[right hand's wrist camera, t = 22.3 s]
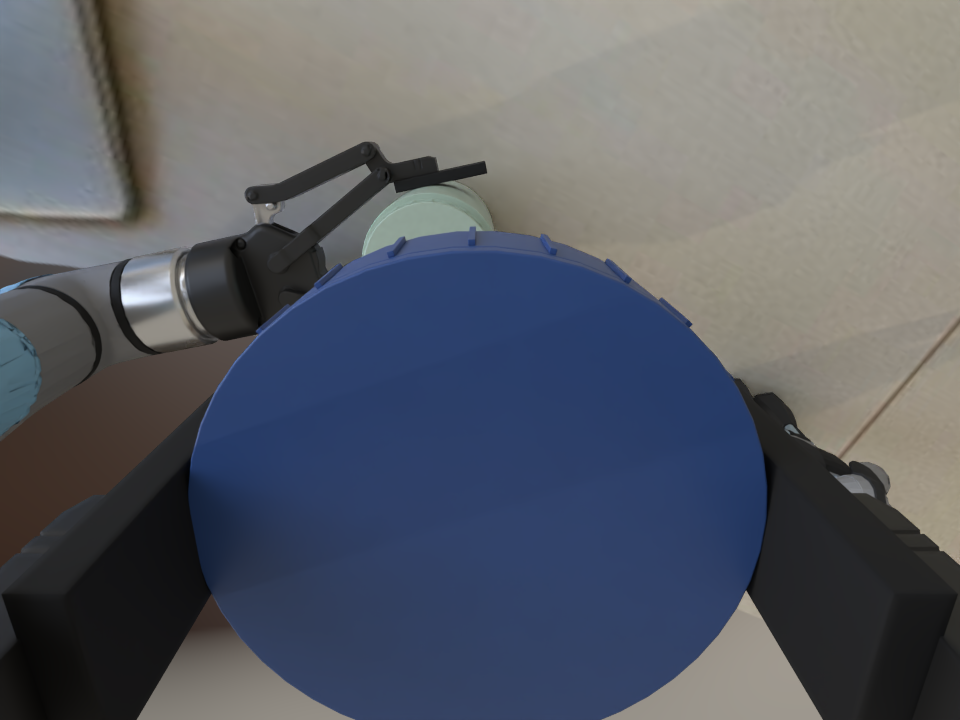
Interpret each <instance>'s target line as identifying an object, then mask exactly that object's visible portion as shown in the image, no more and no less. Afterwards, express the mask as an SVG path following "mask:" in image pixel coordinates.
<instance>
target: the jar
mask: <svg viewBox="0 0 960 720" xmlns="http://www.w3.org/2000/svg"><path fill="white" fill-rule="evenodd" d="M472 226H475V227H476V231H495V230H494V226H493V222H492V219H491V215H490V213H489V210H488V208H487V207H486V205H485V203H484V202H483V201H482V199H481V198H480V197H479V196H478V195H477V194H476V193H475V192H474V191H473V190H471V189H470V188H468V187H467V186H465V185H463V184H460V183H458V182H455V181H449V182H444V183H440V184H435V185H431V186H426V187H421V188H417V189H412V190H409V191H408V192H406V193H405V194H404V195H402V196H401V197H400V198H399V199H397V200H396V201H395V202H393V203H392V204H391V205H389V206H388V207H387V208H386V209H385V210H383V211H382V212H381V213H380V215H379V216H378V217H377V218H376V219H375V221H374V222H373V224H372V225H371V227H370V229H369V231H368V233H367V235H366V238H365V241H364V245H363V251H362V257H363V256H365V255H367V254H370V253H372V252H374V251H376V250H379V249H381V248H383V247H386V246H389V245H392V244H394V243H395V242H396V241H397V240H398V238H400V237H403V236H405V239H406V241H407V240H410V239H414V238H417V237H421V236H428V235H435V234H442V233H449V232H456V231H469V229H470V227H472Z"/></svg>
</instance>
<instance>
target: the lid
mask: <svg viewBox="0 0 960 720" xmlns="http://www.w3.org/2000/svg"><path fill="white" fill-rule="evenodd" d="M691 325H692V323H691V322H690V321H689V320H688V319H686V318H685V317H684V316H683V315H682V314H681V313H679V312H678V311H677V310H676V309H675V308H674V307H672V306H671V305H670V304H669V303H668V302H667V301H665V300H664V299H663V298H661V299H659V300H657V299H656V298H655V297H654V296H653V295H651V294H650V293H649V292H648V291H646V290H645V289H644V288H643V287H641V286H640V285H639V284H638V283H636V282H635V281H634V280H633V279H632V278H631V277H629V276H628V275H627V274H626V273H625V272H624V271H623V270H622V269H621V268H619V267H618V266H617V265H616V264H615V263H614V262H613V261H611V260H610V259H608V258H607V260H606V261H605V262H603V261H602V260H600V259H598V258H596V257H594V256H591V255H589V254H586V253H584V252H582V251H579V250H577V249H574V248H572V247H569V246H567V245H564V244H561V243H557V242H553V241H551V240H550V238H549V237H548V236H547V235H545V234H541V237H540V238H538V237H534V236H530V235H522V234H514V233H506V232H498V231H476V227H475V226H472V227H470V229H469V231H456V232H449V233H442V234H435V235H428V236H421V237H417V238H414V239H410V240H407V241H406V239H405V236H403V237H400V238H398V240H397V241H396V242H395V243H394V244H392V245H389V246H386V247H383V248H381V249H379V250H376V251H374V252H372V253H370V254H367V255H365V256H363V257H360V258H358V259H356V260H354V261H352V262H350V263H349V264H347V265H345V266H344V267H343V266H342V265H341V263H339V264H337V265H336V266H335V267H333V268H332V269H331V270H330V271H329V272H328V273H326V274H325V275H324V276H323V277H322V278H321V279H319V280H318V281H317V282H316V283H315V284H314V287H313V288H312V289H311V290H310V291H308V292H307V293H306V294H305V295H304V296H302V297H301V298H300V299H299V300H298V301H296V302H295V303H294V304H293V305H292V306H290V305H289V304H287V305H286V306H285V307H283V308H282V309H281V310H280V311H279V312H277V313H276V314H275V315H274V316H273V317H271V318H270V319H269V320H268V321H267V322H266V323H264V324H263V325H262V326H261V327H260V328H259V329H258V330H257V331H256V332H257V333H258V334H259V335H258V336H257V337H256V338H255V339H254V341H253V342H252V343H251V344H250V345H249V346H248V347H247V348H246V349H245V351H244V352H243V353H242V354H241V355H240V356H239V357H238V358H237V360H236V361H235V362H234V363H233V365H232V366H231V368H230V370H229V371H228V373H227V374H226V376H225V377H224V379H223V380H222V382H221V383H220V384H219V385H218V387H217V389H216V391H215V393H214V395H213V397H212V399H211V402H210V404H209V406H208V408H207V411H206V413H205V415H204V417H203V420H202V422H201V424H200V427H199V431H198V435H197V439H196V442H195V446H194V450H193V453H192V457H191V466H190V476H189V486H188V501H189V507H190V514H191V519H192V524H193V529H194V534H195V539H196V544H197V550H198V555H199V560H200V564H201V569H202V573H203V575H204V578H205V581H206V583H207V586H208V588H209V589H210V591H211V593H212V595H213V597H214V599H215V601H216V602H217V604H218V606H219V608H220V610H221V612H222V613H223V615H224V616H225V618H226V619H227V620H228V622H229V623H230V624H231V626H232V627H233V629H234V630H235V631H236V633H237V634H238V635H239V637H240V638H241V639H242V640H243V641H244V643H245V644H246V645H247V646H248V647H249V648H250V649H251V650H252V651H253V652H254V653H255V654H256V655H257V656H258V658H259V659H260V660H261V661H262V662H264V663H265V664H266V665H267V666H268V667H269V668H271V669H272V670H273V671H274V672H275V673H277V674H278V675H279V676H280V677H281V678H282V679H284V680H285V681H286V682H288V683H289V684H290V685H292V686H294V687H295V688H297V689H298V690H300V691H301V692H302V693H304V694H305V695H307V696H308V697H310V698H311V699H313V700H315V701H317V702H319V703H321V704H323V705H325V706H327V707H328V708H330V709H332V710H334V711H336V712H338V713H340V714H342V715H345V716H347V717H350V718H352V719H355V720H602V719H604V718H606V717H609V716H611V715H614V714H616V713H618V712H621V711H622V710H624V709H626V708H628V707H630V706H632V705H633V704H635V703H637V702H639V701H641V700H643V699H645V698H646V697H648V696H650V695H651V694H653V693H654V692H655V691H657V690H658V689H660V688H661V687H663V686H664V685H666V684H667V683H668V682H670V681H671V680H673V679H674V678H675V677H676V676H678V675H679V674H680V673H681V672H682V671H683V670H684V669H686V668H687V667H688V666H689V665H690V664H691V663H692V662H694V661H695V660H696V659H697V658H698V657H699V656H700V655H701V654H702V653H703V651H704V650H705V649H706V648H707V647H708V646H709V645H710V644H711V642H712V641H713V640H714V639H715V638H716V637H717V636H718V635H719V633H720V632H721V630H722V629H723V627H724V626H725V625H726V623H727V622H728V620H729V619H730V617H731V616H732V614H733V613H734V612H735V610H736V609H737V607H738V605H739V603H740V601H741V599H742V597H743V595H744V593H745V591H746V589H747V587H748V585H749V583H750V581H751V578H752V575H753V572H754V569H755V567H756V564H757V561H758V558H759V555H760V552H761V547H762V542H763V536H764V531H765V525H766V520H767V479H766V471H765V463H764V456H763V451H762V447H761V444H760V441H759V437H758V434H757V430H756V427H755V424H754V420H753V418H752V416H751V414H750V412H749V410H748V408H747V406H746V403H745V401H744V399H743V397H742V395H741V393H740V391H739V389H738V387H737V386H736V384H735V383H734V378H733V377H732V375H730V374H729V373H728V372H727V371H726V370H725V368H724V367H723V365H722V364H721V362H720V361H719V359H718V358H717V357H716V356H715V354H714V353H713V352H712V351H711V350H710V349H709V348H708V347H707V346H706V345H705V344H704V343H703V342H702V341H701V340H700V338H699V337H698V336H697V335H696V334H695V333H694V332H693V331H692V330H691V329H690V328H689V327H690V326H691Z"/></svg>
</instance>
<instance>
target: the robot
mask: <svg viewBox="0 0 960 720" xmlns="http://www.w3.org/2000/svg"><path fill="white" fill-rule="evenodd" d="M734 383H736V384H737V385H738V386H739V387H740V388H741V389H742V390H743V391H744V392H745V393H746V394H747V395H748V396H749V397H750V398H752V396H751V394H750V392H749V390H748V388H747V387H746V385H744V383H743V382H742V381H741V380H740V379H734ZM752 399H753V398H752ZM753 400H754V401H755V402H756V403H757V404H758V405H759V406H760V407H761V408H762V409H763V410H764V411H765V412H766V413H767V414H768V415H770V416H771V417H772V418H773V419H774V420H775V421H776V422H777V423H778V424H779V425H780V426H781V427H782V428H783V429H784V430H785V431H786V432H787V433H789V434H790V435H791V436H792V437H793V438H794V439H795V440H796V441H797V442H798V443H799V444H800V445H801V446H802V447H803V448H804V449H805V450H807V451H808V452H809V453H810V454H811V455H812V456H813V457H814V458H815V459H816V460H817V461H818V462H819V463H820V464H821V465H822V466H823V467H825V468H826V469H827V470H828V471H829V472H830V473H831V474H832V475H833V476H834V477H835V478H836V479H837V480H838V481H839V482H840V483H841V484H842V485H844V486H845V487H846V488H847V489H848V490H849V491H850V492H851V493H867V494H869V495H871V496H872V497H874V498H876V499H878V500H880V501H882V502H883V503H885V504H887V505H889V506H891V505H890V504H889V502H888V498H887V496H886V494H887V493H888V491H889V488H890V480H889V476H888V475H887V474H886V472H885V471H884V470H883V469H882V468H881V467H879V466H877V465H875V464H872V463H870V462H856V461H851V462H850V463H849V466H848V465H847V464H846V463H844V462H843V461H842V460H840V459H839V458H838V457H836V456H835V455H833V454H831V453H828V452H826V451H824V450H822V449H819V448H817V447H816V446H815V445H814V444H813V442H811V441H810V440H809V439H808V438H807V437H805V435H804V434H803V433H802V432H801V431H800V430H799V429H798V428H797V424H796V420H795V418H794V415H793V413H792V411H791V410H790V409H789V408H788V407H787V406H786V405H785V404H784V402H783V401H782V400H780V399H779V398H778V397H777V396H776V395H775V394H774V393H773V392H772V393H766V394H761V395H756V397H755V398H754V399H753Z"/></svg>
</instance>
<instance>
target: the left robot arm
mask: <svg viewBox="0 0 960 720" xmlns="http://www.w3.org/2000/svg"><path fill="white" fill-rule="evenodd" d="M364 164H366V165H367V166H368V168H369V169H370V171H371V172H372V173H371V174H370V175H369V176H367V177H366V178H365V179H364V180H363V181H362V182H360V183H359V184H358V185H357V186H356V187H355V188H353V189H352V190H351V191H350V192H349V193H347V194H346V195H345V196H344V197H343V198H342V199H340V200H339V201H338V202H337V203H336V204H335V205H333V206H332V207H331V208H330V209H329V210H327V211H326V212H325V213H324V214H323V215H322V216H320V217H319V218H318V219H317V220H316V221H314V222H313V223H312V224H311V225H309V226H308V227H307V228H306V229H304V230H303V231H302V232H301V233H297V232H295V231H293V230H290V229H288V228H286V227H283V226H281V225H279V224H277V223H274V222H273V218H274V216H275V214H277V213H279V212H281V211H283V209H284V208H285V200H288V199H291V198H294V197H297V196H299V195H301V194H303V193H305V192H308V191H310V190H312V189H314V188H316V187H318V186H320V185H322V184H324V183H326V182H328V181H330V180H332V179H335V178H337V177H339V176H341V175H343V174H345V173H347V172H349V171H351V170H353V169H355V168H357V167H359V166H362V165H364ZM486 173H487V169H486V164H485V161H482V162H477V163H473V164H468V165H463V166H459V167H454V168H450V169H445V170H441V171H439V169H438V165H437V160H436V157H431V156H427V157H422V158H418V159H413V160H409V161H404V162H399V163H391V162H389V161H388V160H387V159H386V158H385V156H384V155H383V153H382V152H381V150H380V147H379V146H378V144H376V143H375V142H363V143H361V144H359V145H357V146H354V147H352V148H350V149H348V150H346V151H344V152H342V153H340V154H338V155H336V156H334V157H332V158H330V159H328V160H326V161H324V162H322V163H320V164H317V165H315V166H313V167H311V168H309V169H307V170H305V171H303V172H301V173H299V174H297V175H295V176H293V177H291V178H289V179H287V180H285V181H283V182H280V183H276V184H263V185H258V186H253V187H249V188H248V189H246V191H245V198H246V200H247V201H248V202H249V203H251V204H252V205H253V210H254V215H255V220H256V225H255V226H254V227H253V228H252V229H251V230H250V231H249V232H247V233H244V234H240V235H235V236H231V237H226V238H221V239H217V240H212V241H208V242H203V243H198V244H196V245H194V246H193V247H192V248H189V247H180V248H175V249H171V250H166V251H161V252H157V253H152V254H147V255H143V256H138V257H134V258H131V259H127V260H124V261H121V262H115V263H110V264H105V265H100V266H94V267H89V268H84V269H79V270H74V271H69V272H64V273H59V274H55V275H53V274H47V275H42V276H38V277H34V278H30V279H27V280H24V281H21V282H19V283H17V284H13V285H10V286H6V287H4V288H2V289H0V441H1V440H3V439H4V438H5V437H6V436H7V435H9V434H10V433H11V432H12V431H13V430H14V429H16V428H17V427H18V426H19V425H20V424H22V423H23V422H24V421H25V420H26V419H28V418H29V417H30V416H31V415H33V414H34V413H35V412H37V411H38V410H40V409H41V408H42V407H44V406H45V405H47V404H48V403H50V402H51V401H53V400H54V399H56V398H57V397H59V396H60V395H62V394H63V393H65V392H67V391H68V390H70V389H71V388H73V387H75V386H77V385H79V384H80V383H82V382H83V381H85V380H87V379H88V378H90V377H91V376H93V375H94V374H96V373H98V372H99V371H101V370H102V369H104V368H106V367H108V366H111V365H114V364H117V363H120V362H124V361H129V360H133V359H137V358H142V357H146V356H151V355H156V354H161V353H166V352H172V351H177V350H182V349H188V348H193V347H198V346H203V345H209V344H213V343H215V342H217V341H218V340H219V339H220V340H223V341H227V340H232V339H237V338H241V337H247V336H251V335H256V334H258V333H257V332H256V331H257V330H258V329H259V328H260V327H261V326H262V325H263V324H264V323H266V322H267V321H268V320H269V319H270V318H271V317H273V316H274V315H275V314H276V313H277V312H279V311H280V310H281V309H282V308H283V307H285V306H286V305H287V304H289V305H290V306H292V305H293V304H294V303H295V302H296V301H298V300H299V299H300V298H301V297H302V296H304V295H305V294H306V293H307V292H308V291H310V290H311V289H312V288H313V287H314V284H315V283H316V282H317V281H318V280H319V279H321V278H322V277H323V276H324V275H325V274H326V273H328V271H327V269H326V267H325V254H324V251H323V248H322V247H320V246H319V245H318V243H319V242H320V241H321V240H323V239H324V238H325V237H326V236H327V235H329V234H330V233H331V232H332V231H333V230H334V229H335V228H337V227H338V226H339V225H340V224H341V223H343V222H344V221H345V220H346V219H347V218H349V217H350V216H351V215H352V214H353V213H355V212H356V211H357V210H358V209H359V208H360V207H362V206H363V205H364V204H365V203H366V202H368V201H369V200H370V199H371V198H372V197H374V196H375V195H376V194H377V193H378V192H380V191H381V190H382V189H383V188H384V187H386V186H387V185H388V184H389V183H393V182H394V186H395V190H396V193H398V192H403V191H408V190H412V189H417V188H421V187H426V186H431V185H435V184H440V183H444V182H449V181H454V180H458V179H463V178H468V177H472V176H477V175H481V174H486Z"/></svg>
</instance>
